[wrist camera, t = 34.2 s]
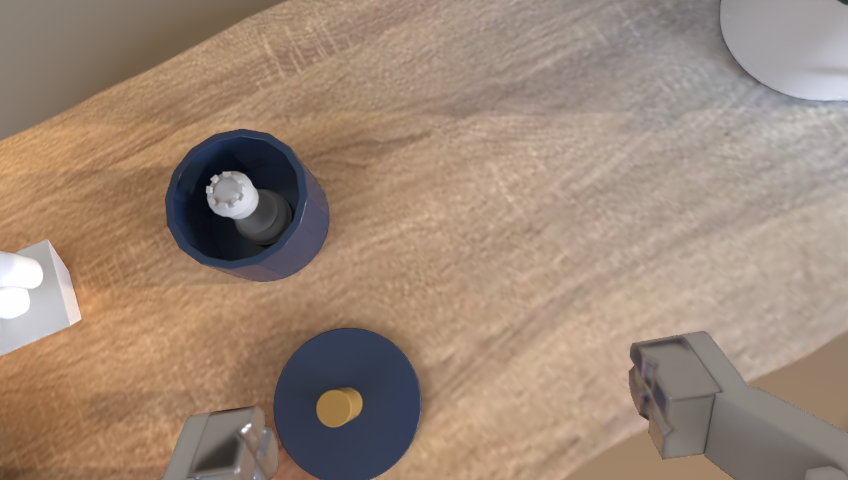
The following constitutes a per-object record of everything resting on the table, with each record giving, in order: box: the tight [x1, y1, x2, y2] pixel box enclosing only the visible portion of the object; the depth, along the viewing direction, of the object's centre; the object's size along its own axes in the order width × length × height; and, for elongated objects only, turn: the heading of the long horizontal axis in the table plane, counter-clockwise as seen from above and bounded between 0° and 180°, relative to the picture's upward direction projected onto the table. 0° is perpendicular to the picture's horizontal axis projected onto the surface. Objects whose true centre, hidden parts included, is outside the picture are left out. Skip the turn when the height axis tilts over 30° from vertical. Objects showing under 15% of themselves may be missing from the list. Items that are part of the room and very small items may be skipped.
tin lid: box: [274, 328, 421, 480], centre depth 38 cm, size 11×11×5 cm
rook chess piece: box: [206, 171, 292, 245], centre depth 40 cm, size 4×4×8 cm
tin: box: [165, 129, 329, 282], centre depth 41 cm, size 10×10×6 cm
